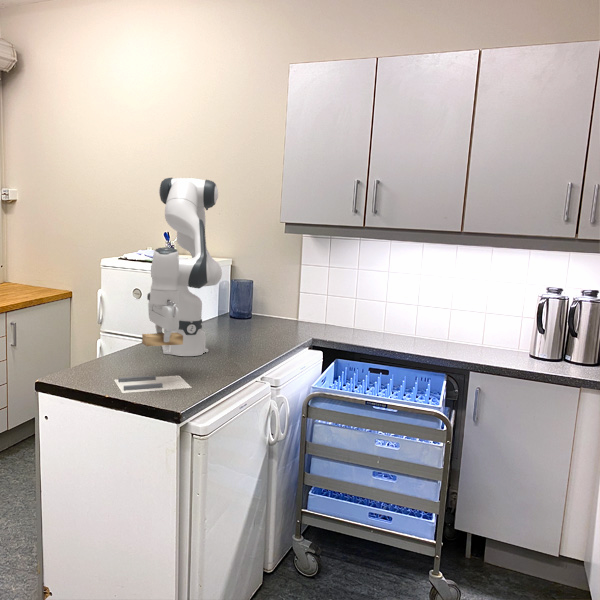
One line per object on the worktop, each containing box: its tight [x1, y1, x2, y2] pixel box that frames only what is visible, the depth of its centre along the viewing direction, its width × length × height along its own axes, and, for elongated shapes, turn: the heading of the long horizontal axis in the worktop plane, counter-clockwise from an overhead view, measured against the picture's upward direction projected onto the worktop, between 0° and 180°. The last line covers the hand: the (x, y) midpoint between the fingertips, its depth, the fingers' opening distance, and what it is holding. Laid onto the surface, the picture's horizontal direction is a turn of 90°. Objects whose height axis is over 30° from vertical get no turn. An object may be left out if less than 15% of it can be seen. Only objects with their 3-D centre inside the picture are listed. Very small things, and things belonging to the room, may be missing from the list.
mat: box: [113, 375, 193, 394], centre depth 185 cm, size 15×22×2 cm
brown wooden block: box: [141, 332, 183, 347], centre depth 185 cm, size 12×5×3 cm, turn 122°
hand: (162, 339), depth 185 cm, fingers closed on brown wooden block, 5 cm apart
